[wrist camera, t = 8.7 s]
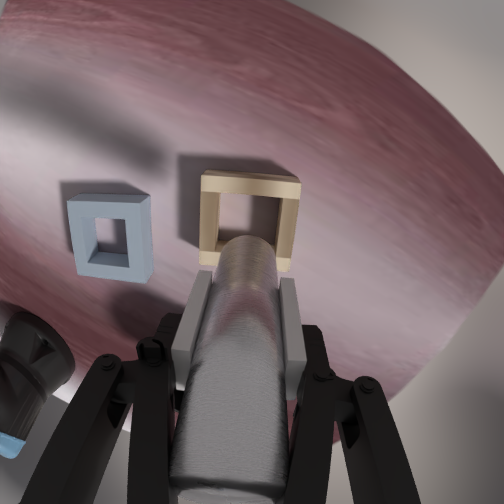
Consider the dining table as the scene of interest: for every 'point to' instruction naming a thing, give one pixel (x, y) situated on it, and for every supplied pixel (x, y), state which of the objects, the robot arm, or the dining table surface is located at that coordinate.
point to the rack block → (249, 185)
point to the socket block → (137, 233)
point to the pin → (235, 388)
